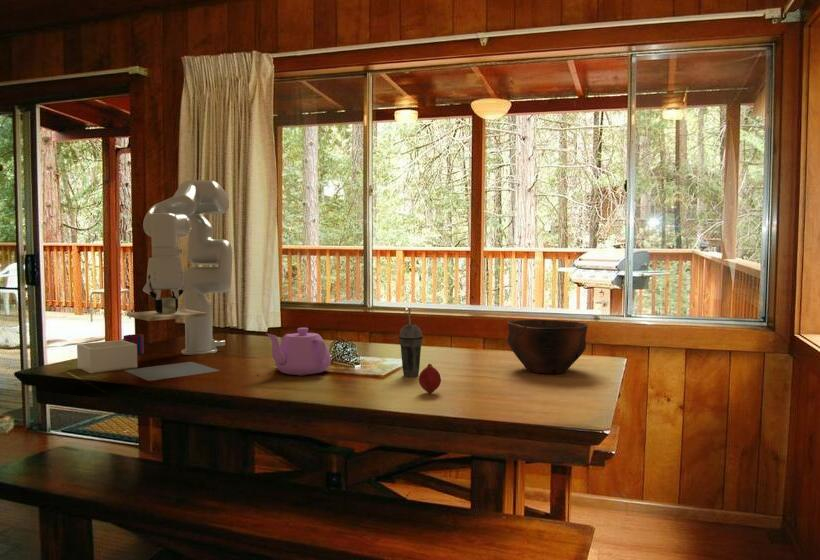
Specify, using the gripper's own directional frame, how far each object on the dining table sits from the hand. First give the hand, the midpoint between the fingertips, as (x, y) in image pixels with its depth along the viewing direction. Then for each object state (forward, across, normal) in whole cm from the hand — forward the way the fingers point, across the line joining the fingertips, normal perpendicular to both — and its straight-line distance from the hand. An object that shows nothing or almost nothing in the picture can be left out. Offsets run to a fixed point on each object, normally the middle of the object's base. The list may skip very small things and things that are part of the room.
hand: (166, 311), depth 201 cm
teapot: (+19, -28, +30) cm, 45 cm away
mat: (+19, -1, +1) cm, 19 cm away
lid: (+1, 0, 0) cm, 1 cm away
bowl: (+19, -86, +80) cm, 120 cm away
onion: (+19, -38, +78) cm, 89 cm away
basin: (+19, +12, -19) cm, 30 cm away
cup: (+20, -3, -43) cm, 47 cm away
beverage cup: (+19, -51, +57) cm, 79 cm away
